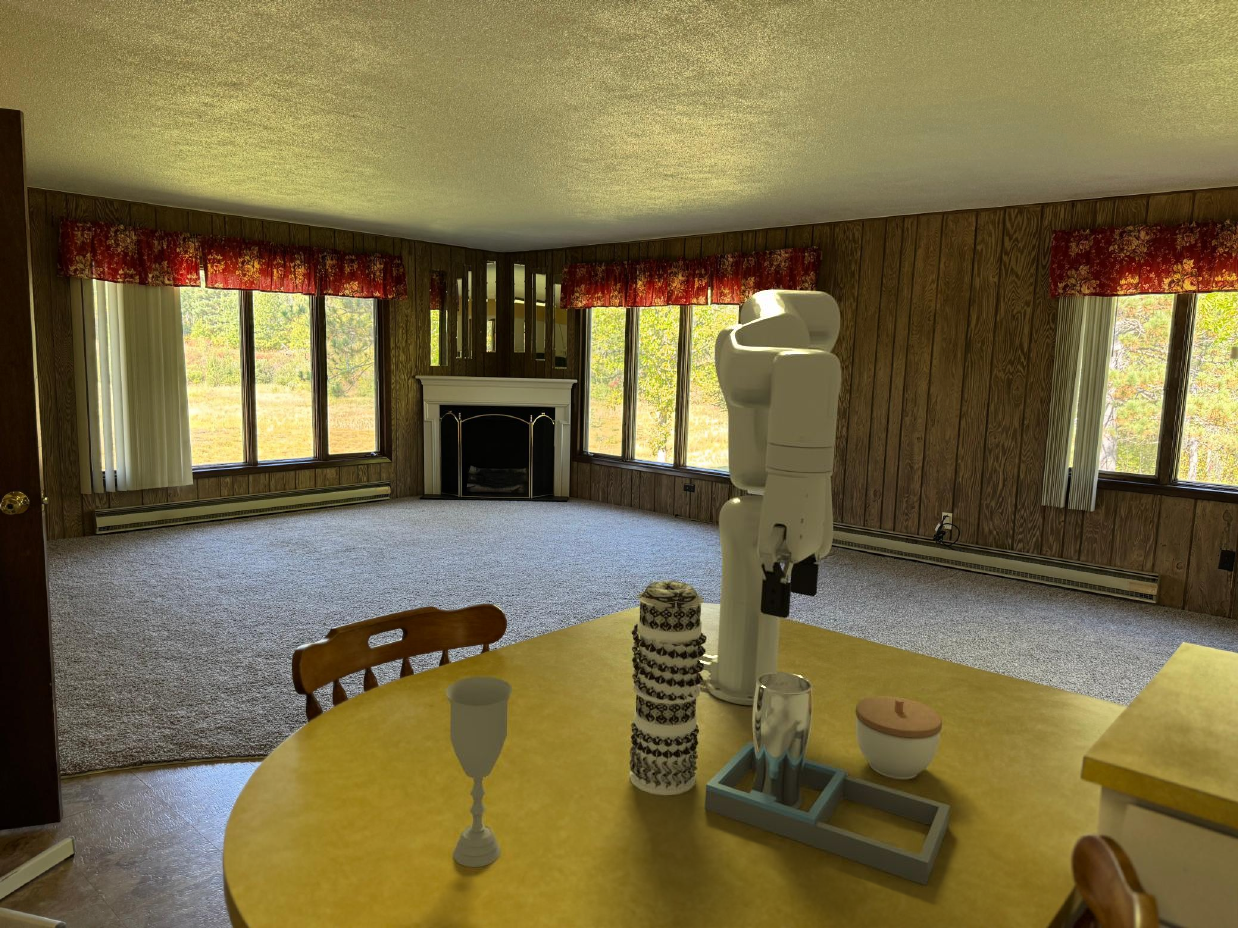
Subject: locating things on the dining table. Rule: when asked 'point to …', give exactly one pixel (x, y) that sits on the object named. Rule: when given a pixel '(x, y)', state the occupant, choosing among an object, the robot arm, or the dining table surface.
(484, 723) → the chalice
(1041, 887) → the dining table surface
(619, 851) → the dining table surface
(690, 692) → the decorative candle
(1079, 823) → the dining table surface
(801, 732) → the beer glass
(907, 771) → the lidded jar
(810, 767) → the slot frame
